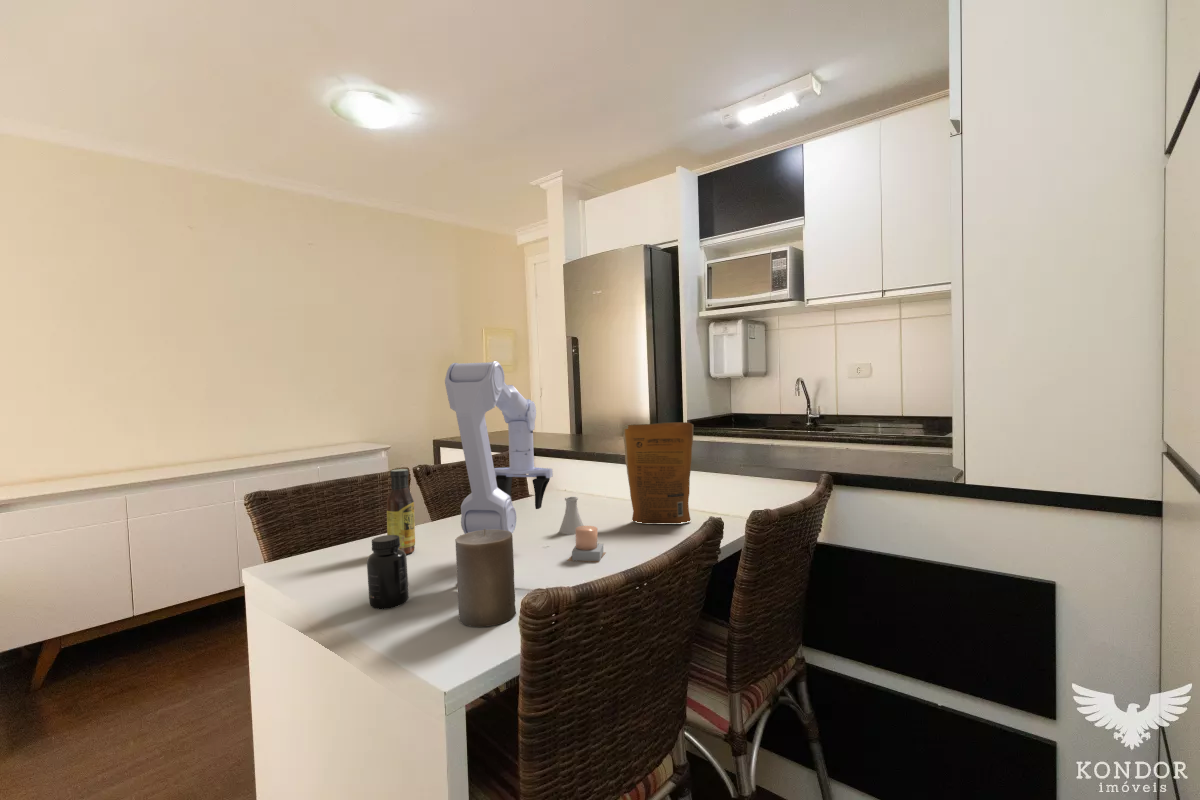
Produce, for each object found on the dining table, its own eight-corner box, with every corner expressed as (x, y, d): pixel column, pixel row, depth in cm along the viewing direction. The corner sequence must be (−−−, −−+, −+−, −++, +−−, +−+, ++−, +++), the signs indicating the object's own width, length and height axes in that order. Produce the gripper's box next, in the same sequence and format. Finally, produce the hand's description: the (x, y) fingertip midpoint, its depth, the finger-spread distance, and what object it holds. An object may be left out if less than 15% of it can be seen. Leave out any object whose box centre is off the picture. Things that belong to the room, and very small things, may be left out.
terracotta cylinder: (585, 551, 118) (585, 532, 118) (571, 546, 122) (571, 528, 122) (601, 547, 121) (602, 528, 121) (587, 542, 125) (587, 524, 125)
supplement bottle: (396, 592, 107) (393, 531, 106) (416, 601, 102) (413, 536, 102) (361, 604, 101) (358, 539, 101) (381, 613, 97) (378, 545, 97)
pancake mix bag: (695, 527, 148) (693, 422, 147) (625, 525, 152) (622, 423, 151) (696, 520, 155) (693, 420, 154) (628, 519, 159) (626, 421, 158)
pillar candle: (527, 613, 95) (524, 526, 95) (480, 633, 88) (477, 539, 88) (492, 600, 102) (489, 519, 101) (446, 618, 94) (442, 530, 94)
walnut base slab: (598, 571, 117) (598, 562, 117) (566, 569, 119) (566, 560, 119) (606, 561, 124) (606, 552, 124) (576, 559, 126) (576, 550, 126)
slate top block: (599, 561, 118) (599, 551, 118) (572, 560, 119) (571, 551, 119) (603, 552, 124) (603, 543, 124) (576, 552, 125) (576, 543, 125)
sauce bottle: (410, 556, 129) (406, 471, 129) (383, 557, 130) (380, 472, 129) (419, 548, 136) (416, 467, 135) (394, 548, 136) (391, 468, 136)
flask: (574, 541, 138) (573, 501, 138) (552, 537, 142) (551, 498, 142) (592, 535, 144) (591, 496, 143) (570, 531, 148) (569, 493, 148)
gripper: (556, 448, 132) (557, 504, 133) (500, 448, 136) (502, 503, 136) (545, 451, 125) (547, 511, 126) (487, 451, 129) (489, 509, 129)
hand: (523, 507), depth 131 cm, fingers open, 7 cm apart
